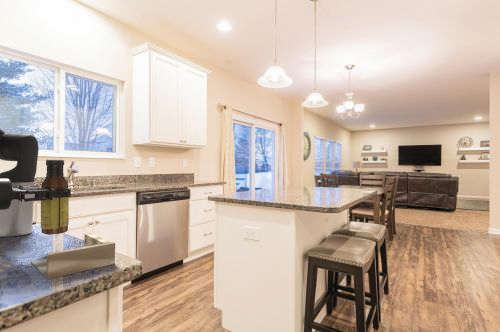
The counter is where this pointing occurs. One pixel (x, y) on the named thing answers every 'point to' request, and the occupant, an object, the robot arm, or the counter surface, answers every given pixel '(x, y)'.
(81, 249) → the beige l-shaped piece
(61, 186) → the sauce bottle
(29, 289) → the counter surface
